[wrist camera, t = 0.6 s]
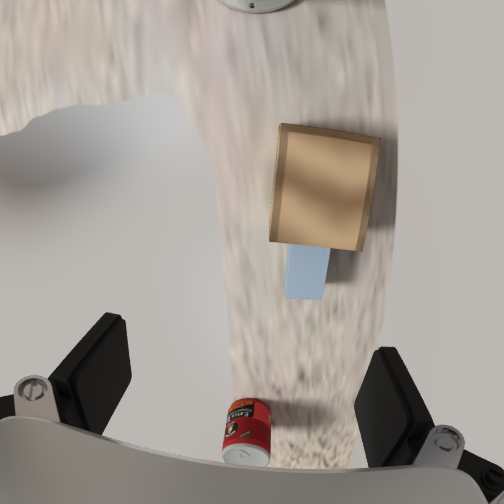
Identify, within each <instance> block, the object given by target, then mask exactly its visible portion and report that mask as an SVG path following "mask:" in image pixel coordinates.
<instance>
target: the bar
mask: <svg viewBox="0 0 504 504" xmlns="http://www.w3.org/2000/svg"><path fill="white" fill-rule="evenodd" d="M330 250H331V248H326V247H316V246H307V245H297V244H288V253H287V262H286V270H285V279H284V284H285V297H286V298H293V299H308V300H322V296H323V291H324V285H325V280H326V274H327V268H328V262H329V256H330Z"/></svg>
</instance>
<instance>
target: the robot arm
mask: <svg viewBox="0 0 504 504" xmlns="http://www.w3.org/2000/svg"><path fill="white" fill-rule="evenodd" d="M218 1H219V2H220V3H222V4H223V5H225V6H227V7H229V8H231V9H234V10H236V11H241V12H245V13H266V12H272V11H276V10H278V9H281V8H284V7H286V6H287V5H289V4H291V3H292V2H294V1H295V0H218ZM251 7H255V8H251ZM131 377H132V373H131V365H130V358H129V349H128V340H127V331H126V322H125V320H124V319H122V317H121V316H120V315H118V314H113V313H108V312H106V313H105V314H104V315H103V316H102V317H101V318H100V319H99V320H98V321H97V322H96V324H95V325H94V326H93V327H92V328H91V329H90V330H89V331H88V332H87V334H86V335H85V336H84V337H83V338H82V339H81V340H80V342H79V343H78V344H77V345H76V346H75V347H74V348H73V349H72V351H71V352H70V353H69V354H68V355H67V356H66V358H65V359H64V360H63V361H62V362H61V364H60V365H59V366H58V367H57V368H56V369H55V370H54V372H53V373H52V374H51V375H50V376H49V378H48V379H46V378H44V377H42V376H38V375H31V376H27V377H24V378H22V379H21V380H20V381H18V382H17V383H16V385H15V387H14V394H13V395H8V396H3V397H0V504H504V470H503V469H502V468H501V467H499V466H498V465H496V464H494V463H491V462H489V461H487V460H485V459H483V458H481V457H479V456H477V455H475V454H473V453H470V452H468V451H467V450H464V445H465V441H464V437H463V436H462V434H461V433H460V432H459V431H458V430H457V429H455V428H454V427H452V426H448V425H438V426H435V425H434V422H433V420H432V417H431V415H430V413H429V411H428V409H427V407H426V405H425V403H424V401H423V399H422V397H421V395H420V393H419V391H418V389H417V387H416V385H415V383H414V381H413V379H412V377H411V376H410V374H409V372H408V370H407V368H406V366H405V364H404V362H403V360H402V359H401V357H400V355H399V353H398V351H397V349H396V348H395V347H380V348H379V349H378V350H375V351H374V353H373V356H372V359H371V361H370V364H369V367H368V370H367V372H366V375H365V377H364V380H363V383H362V385H361V388H360V390H359V393H358V395H357V397H356V400H355V403H354V410H355V414H356V418H357V422H358V426H359V430H360V433H361V438H362V442H363V446H364V450H365V454H366V458H367V462H368V467H369V468H358V469H286V468H270V467H257V466H247V465H238V464H230V463H222V462H215V461H209V460H202V459H197V458H191V457H186V456H180V455H176V454H171V453H166V452H161V451H157V450H153V449H149V448H145V447H141V446H137V445H133V444H130V443H126V442H122V441H118V440H115V439H112V438H108V437H105V436H102V433H103V432H104V430H105V428H106V426H107V424H108V422H109V420H110V418H111V416H112V415H113V413H114V411H115V409H116V407H117V405H118V404H119V402H120V400H121V398H122V396H123V394H124V393H125V391H126V389H127V387H128V385H129V383H130V381H131Z"/></svg>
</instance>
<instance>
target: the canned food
mask: <svg viewBox="0 0 504 504" xmlns="http://www.w3.org/2000/svg"><path fill="white" fill-rule="evenodd" d="M270 449H271V413H270V410H269V408H268V406H267V405H266V404H264V403H263V402H261V401H259V400H256V399H248V398H247V399H240V400H237V401H235V402H234V403H233V404H232V405H231V407H230V408H229V411H228V416H227V423H226V429H225V435H224V442H223V448H222V459H223V461H224V462H225V463H230V464H238V465H247V466H257V467H265V466H267V465H268V464H269V462H270Z"/></svg>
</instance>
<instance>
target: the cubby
mask: <svg viewBox="0 0 504 504" xmlns="http://www.w3.org/2000/svg"><path fill="white" fill-rule="evenodd" d="M380 141H381V138H376V137H371V136H365V135H360V134H355V133H349V132H343V131H337V130H331V129H324V128H317V127H310V126H303V125H295V124H286V123H281V124H280V125H279V133H278V143H277V153H276V163H275V173H274V183H273V192H272V202H271V211H270V221H269V242H278V243H288V244H297V245H307V246H316V247H326V248H335V249H344V250H353V251H363V246H364V241H365V236H366V231H367V225H368V220H369V215H370V209H371V203H372V197H373V191H374V185H375V178H376V171H377V164H378V157H379V149H380Z"/></svg>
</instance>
